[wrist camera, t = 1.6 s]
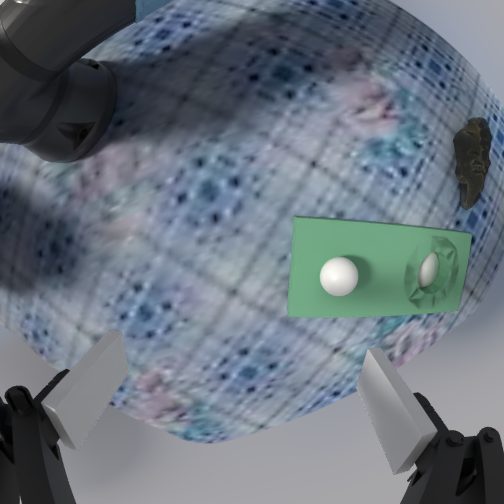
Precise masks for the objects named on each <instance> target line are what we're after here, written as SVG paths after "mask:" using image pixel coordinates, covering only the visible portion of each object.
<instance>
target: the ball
mask: <svg viewBox="0 0 504 504" xmlns="http://www.w3.org/2000/svg"><path fill="white" fill-rule="evenodd" d="M320 282H321V285H322V287H323V288H324V290H325V291H326V292H328V293H329V294H331V295H333V296H344V295H347V294H349V293H350V292H352V291H353V289H354V288H355V287H356V285H357V282H358V270H357V268H356V266H355V264H354V263H353V262H352V261H351V260H349V259H347V258H344V257H335V258H332V259H330V260H328V261H327V262H326V263H325V264H324V265H323V267H322V269H321V272H320Z"/></svg>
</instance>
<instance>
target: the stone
mask: <svg viewBox="0 0 504 504" xmlns="http://www.w3.org/2000/svg"><path fill="white" fill-rule="evenodd" d="M453 142H454V147H455V152H456V158H457V166H456V171H455V174H456V177H457V178H458V180H459V181H460V182H461V186H460V204H461V206H462V207H463V208H465V209H466V210H467V209H468V208H471V207H472V206H473V205H474V204H475V203H476V202H477V201H478V199H479V198H480V196H481V194H480V193H481V192H482V190H483V188H484V182H485V177H486V174H487V172H488V168H489V166H490V164H491V162H490V160H489V151H490V147H491V133H490V128H489V126H488V124H487V122H486V120H485V119H484V118H480V117H478V118H471V119H470V120H468V124H467V126H466V127H465V128H463V129H461V130H460V131H459V132H458V133H457V134H456V136H455V138H454V140H453Z"/></svg>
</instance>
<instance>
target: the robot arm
mask: <svg viewBox="0 0 504 504" xmlns="http://www.w3.org/2000/svg"><path fill="white" fill-rule="evenodd" d="M172 1H173V0H5V1H4V2H3V3H2V4H1V5H0V143H10V144H20V145H23V146H24V147H26V148H27V149H28V150H30V151H31V152H33V153H34V154H35V155H37V156H38V157H40V158H41V159H43V160H45V161H48V162H56V163H67V162H71V161H74V160H76V159H78V158H80V157H81V156H83V155H84V154H85V153H87V152H88V151H89V150H90V149H91V148H92V147H93V146H94V145H95V144H96V142H97V141H98V140H99V139H100V137H101V136H102V134H103V133H104V131H105V129H106V128H107V126H108V124H109V121H110V119H111V117H112V114H113V111H114V107H115V103H116V94H117V91H116V83H115V79H114V77H113V75H112V73H111V72H110V70H108V69H107V68H106V67H105V66H103V65H102V64H101V63H99V62H97V61H95V60H92V59H86V58H81V57H82V56H84V55H85V54H86V53H88V52H89V51H90V50H92V49H93V48H95V47H96V46H97V45H99V44H100V43H102V42H103V41H105V40H106V39H108V38H109V37H111V36H112V35H114V34H116V33H117V32H119V31H120V30H122V29H124V28H125V27H127V26H129V25H131V24H133V23H134V22H135V23H137V22H139V21H141V19H142V18H143V17H145V16H146V15H148V14H150V13H152V12H153V11H155V10H157V9H159V8H161V7H163V6H165V5H166V4H168V3H170V2H172ZM128 373H129V369H128V364H127V359H126V354H125V349H124V343H123V337H122V332H118V331H113V330H109V331H108V332H107V333H106V334H105V335H104V336H103V337H102V338H101V339H100V340H99V341H98V342H97V343H96V344H95V345H94V346H93V347H92V349H91V350H90V351H89V352H88V353H87V354H86V355H85V356H84V357H83V358H82V359H81V360H80V361H79V362H78V363H77V364H76V365H75V366H74V367H73V368H72V369H71V370H68V369H65V370H63V371H62V372H60V373H58V374H57V375H56V376H55V377H54V378H53V380H52V381H51V382H49V383H48V385H47V386H46V387H45V388H44V389H43V390H42V391H41V392H40V393H39V394H38V395H37V396H36V397H35V398H34V399H33V398H32V397H31V394H30V392H29V390H28V389H27V388H26V387H23V386H13V387H11V388H9V389H8V390H7V391H6V393H5V399H6V401H7V403H8V404H5V403H4V402H3V401H2V399H1V397H0V504H20V497H21V501H22V504H76V502H75V499H74V496H73V493H72V491H71V488H70V485H69V482H68V478H67V475H66V472H65V468H64V465H63V461H62V457H61V453H60V449H59V446H58V444H57V441H58V440H59V438H60V439H61V440H62V442H63V444H64V445H65V446H66V447H69V448H71V449H73V450H75V451H77V452H78V451H79V450H80V448H81V446H82V444H83V443H84V442H85V440H86V438H87V437H88V435H89V433H90V432H91V430H92V428H93V427H94V425H95V424H96V422H97V421H98V419H99V418H100V416H101V414H102V413H103V411H104V410H105V408H106V406H107V405H108V404H109V402H110V400H111V399H112V397H113V396H114V394H115V393H116V391H117V390H118V388H119V387H120V385H121V384H122V382H123V381H124V379H125V378H126V376H127V375H128ZM356 389H357V391H358V394H359V396H360V398H361V400H362V402H363V404H364V406H365V409H366V411H367V413H368V416H369V418H370V420H371V422H372V424H373V427H374V429H375V431H376V433H377V435H378V438H379V440H380V443H381V445H382V447H383V450H384V452H385V454H386V457H387V459H388V461H389V464H390V466H391V469H392V471H393V474H394V475H395V474H399V473H402V472H405V471H408V470H409V469H410V468H411V467H412V466H413V465H414V463H415V464H416V466H417V469H416V470H415V472H414V473H413V474H412V475H411V476H410V477H409V479H408V480H407V481H408V482H409V481H410V480H411V481H410V484H409V486H408V488H407V491H406V493H405V495H404V497H403V499H402V501H401V503H400V504H504V452H503V447H502V442H501V438H500V435H499V433H498V431H496V430H495V429H494V428H492V427H485V428H483V429H481V430H480V432H479V433H478V434H477V436H470V437H464V435H462V434H461V433H460V432H458V431H454V430H450V431H449V430H448V428H447V427H446V426H445V424H444V423H443V421H442V420H441V418H440V417H439V416H438V414H437V413H436V411H434V408H433V407H432V406H431V405H430V403H429V401H428V400H427V399H426V398H425V397H424V396H423V395H421V394H420V393H418V392H417V393H412V392H411V390H410V389H409V387H408V386H407V385H406V383H405V382H404V381H403V379H402V377H401V376H400V375H399V373H398V372H397V370H396V369H395V368H394V366H393V365H392V363H391V362H390V361H389V359H388V358H387V356H386V355H385V354H384V352H383V351H382V350H381V348H368V350H367V353H366V357H365V360H364V363H363V367H362V370H361V373H360V376H359V379H358V382H357V385H356Z"/></svg>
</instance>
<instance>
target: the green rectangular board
mask: <svg viewBox="0 0 504 504" xmlns="http://www.w3.org/2000/svg"><path fill="white" fill-rule="evenodd" d="M471 238H472V234H470V233H466V232H462V231H455V230H447V229H438V228H430V227H421V226H412V225H402V224H392V223H382V222H371V221H359V220H347V219H334V218H319V217H304V216H294V222H293V238H292V253H291V267H290V279H289V291H288V303H287V310H288V314H289V317H375V316H397V315H414V314H428V313H440V312H451V311H457V310H458V306H459V302H460V298H461V294H462V290H463V285H464V280H465V275H466V270H467V265H468V259H469V253H470V246H471ZM434 252H435V253H436V254H437V255H436V254H435V253H434ZM335 257H344V258H347V259H349V260H351V261H352V262H353V263H354V264H355V266H356V268H357V270H358V282H357V285H356V287H355V288H354V289H353V291H352V292H350V293H349V294H347V295H344V296H333V295H331V294H329V293H328V292H326V291H325V290H324V288H323V287H322V285H321V282H320V272H321V269H322V267H323V265H324V264H325V263H326V262H327V261H328V260H330V259H332V258H335ZM419 287H420V288H419ZM423 287H425V288H423Z"/></svg>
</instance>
